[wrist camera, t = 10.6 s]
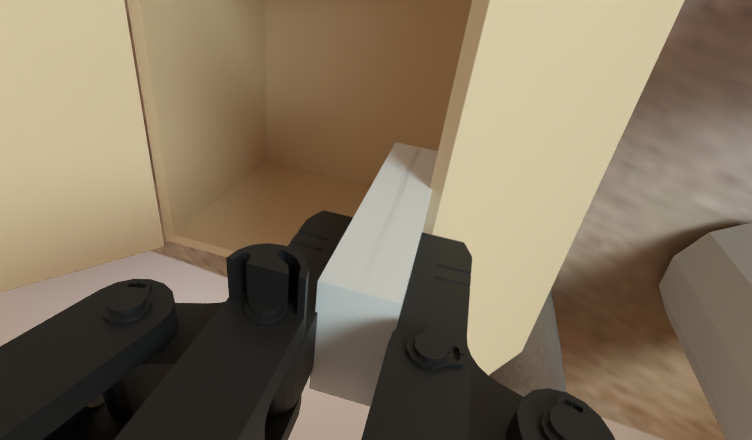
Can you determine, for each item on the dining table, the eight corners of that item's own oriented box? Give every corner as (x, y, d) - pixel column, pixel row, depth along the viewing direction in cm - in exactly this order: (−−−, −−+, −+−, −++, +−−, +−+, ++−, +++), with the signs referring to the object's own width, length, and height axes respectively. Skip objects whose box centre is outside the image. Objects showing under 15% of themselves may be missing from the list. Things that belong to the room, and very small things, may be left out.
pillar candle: (415, 252, 35) (366, 412, 22) (541, 232, 31) (565, 411, 19) (448, 339, 39) (421, 516, 26) (563, 330, 35) (594, 532, 23)
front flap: (371, 444, 16) (378, 453, 16) (551, -349, 6) (577, -358, 5) (515, 346, 21) (521, 351, 21) (742, -164, 11) (761, -166, 11)
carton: (631, -97, 21) (746, -158, 11) (515, 222, 31) (520, 340, 21) (262, -144, 24) (91, -226, 14) (264, 161, 34) (165, 240, 24)
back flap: (-444, -402, 8) (-434, -394, 9) (-54, 307, 18) (-54, 302, 19) (86, -231, 14) (83, -229, 14) (164, 246, 24) (161, 242, 24)
